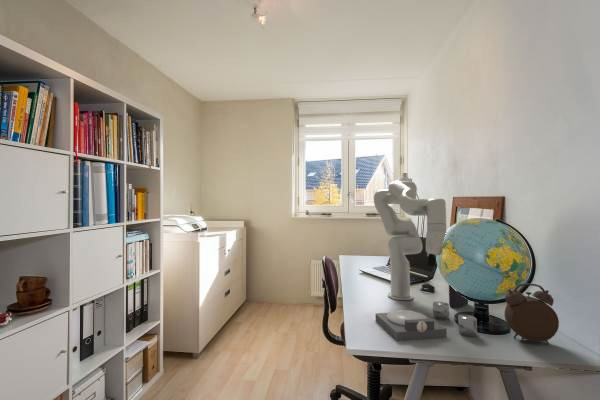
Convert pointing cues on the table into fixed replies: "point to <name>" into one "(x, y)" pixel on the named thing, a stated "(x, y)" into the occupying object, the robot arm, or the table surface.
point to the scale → (410, 325)
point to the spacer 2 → (467, 325)
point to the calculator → (456, 299)
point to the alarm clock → (531, 315)
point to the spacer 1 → (441, 310)
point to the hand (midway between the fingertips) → (437, 267)
